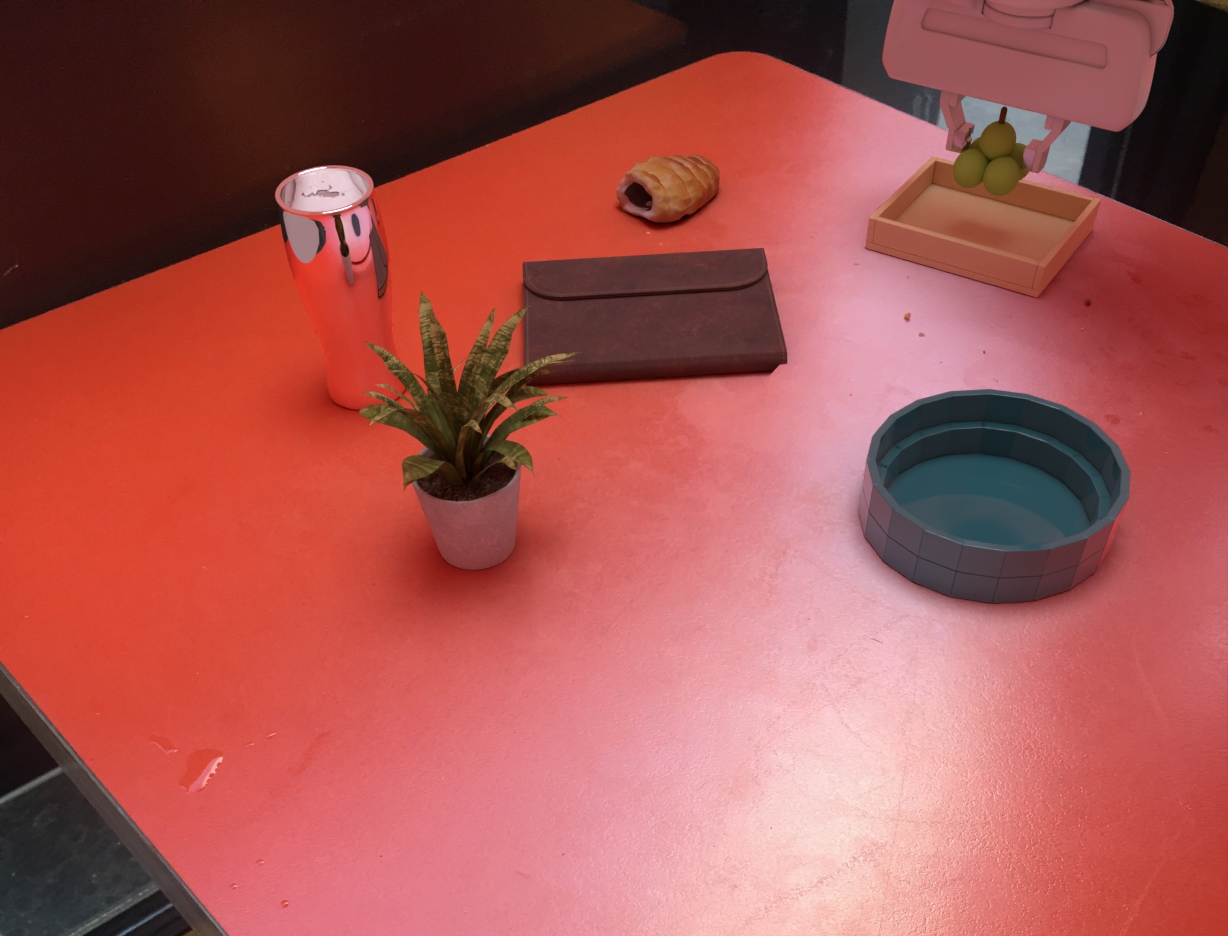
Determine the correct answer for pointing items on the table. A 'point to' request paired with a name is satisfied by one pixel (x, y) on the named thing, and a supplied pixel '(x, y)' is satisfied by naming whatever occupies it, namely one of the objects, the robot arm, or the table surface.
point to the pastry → (668, 187)
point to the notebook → (652, 316)
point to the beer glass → (342, 276)
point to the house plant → (466, 438)
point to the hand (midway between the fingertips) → (993, 159)
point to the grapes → (992, 159)
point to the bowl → (992, 495)
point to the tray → (983, 228)
